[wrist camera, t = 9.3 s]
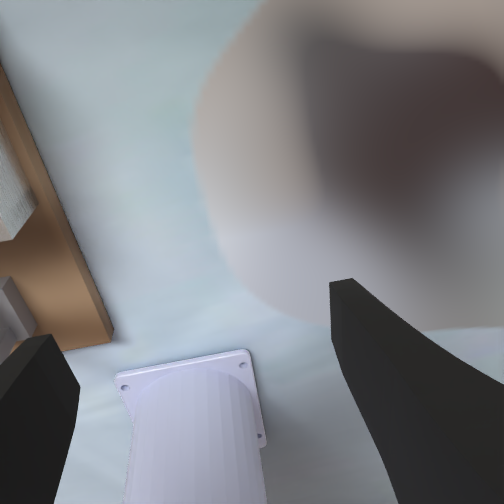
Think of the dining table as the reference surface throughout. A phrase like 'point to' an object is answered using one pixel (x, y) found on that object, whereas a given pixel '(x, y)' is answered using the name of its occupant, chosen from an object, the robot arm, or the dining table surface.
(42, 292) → the board
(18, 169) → the end holder
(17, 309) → the clip
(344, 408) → the dining table surface
